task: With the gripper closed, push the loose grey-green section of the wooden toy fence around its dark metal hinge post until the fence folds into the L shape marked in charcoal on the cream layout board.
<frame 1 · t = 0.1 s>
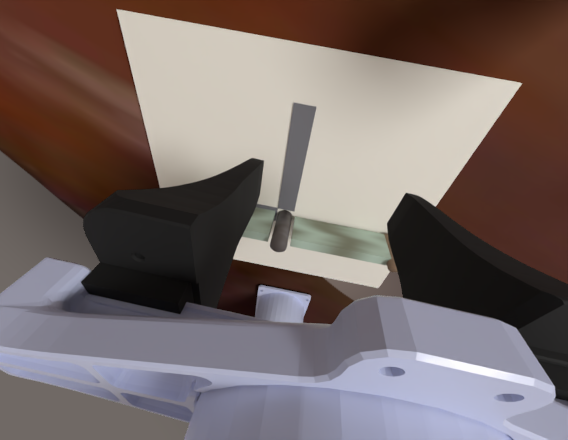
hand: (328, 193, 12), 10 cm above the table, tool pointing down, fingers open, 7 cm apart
fixed fence section: (285, 213, 25), resting on layout board
layout board: (289, 190, 24), on the table
hinged fence section: (344, 242, 23), point 3 cm above the table, hinge at 0.0°
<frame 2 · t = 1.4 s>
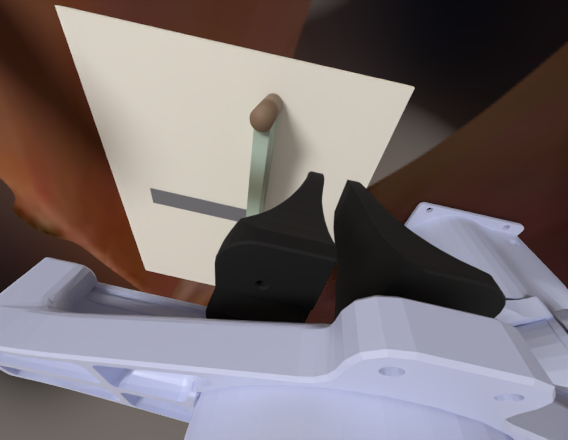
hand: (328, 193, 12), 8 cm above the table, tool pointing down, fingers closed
layout board: (231, 209, 24), on the table
hinged fence section: (260, 175, 18), point 3 cm above the table, hinge at 0.0°
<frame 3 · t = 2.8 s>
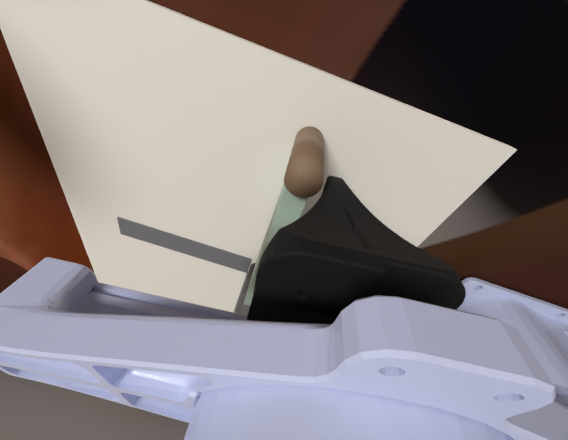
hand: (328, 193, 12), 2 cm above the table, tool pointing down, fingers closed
fixed fence section: (261, 264, 19), resting on layout board
layout board: (226, 253, 19), on the table
hinged fence section: (276, 234, 13), point 3 cm above the table, hinge at 0.6°, touching gripper
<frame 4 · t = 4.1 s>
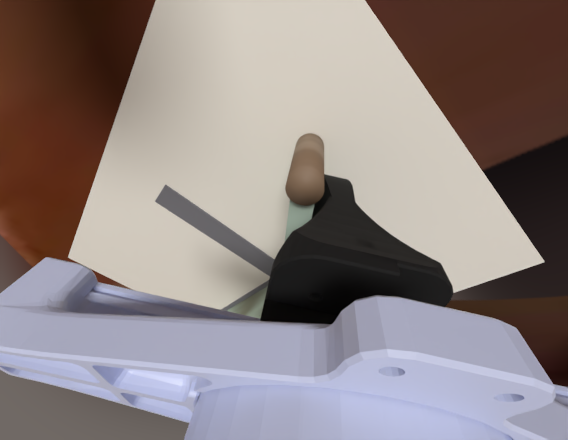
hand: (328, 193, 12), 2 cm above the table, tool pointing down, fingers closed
fixed fence section: (288, 273, 19), resting on layout board
layout board: (260, 254, 18), on the table
hinged fence section: (294, 242, 13), point 3 cm above the table, hinge at 36.5°, touching gripper
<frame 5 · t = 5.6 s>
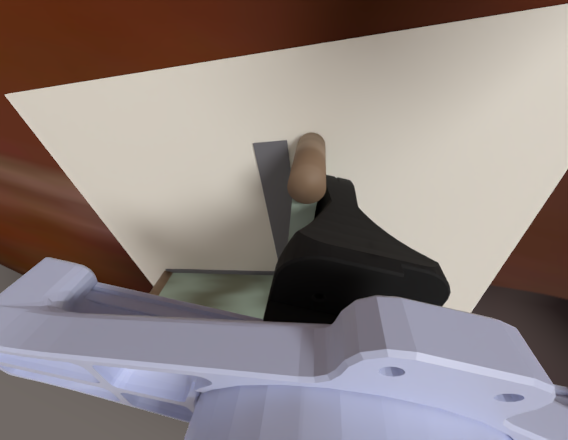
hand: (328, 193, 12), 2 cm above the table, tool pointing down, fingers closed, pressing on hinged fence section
fixed fence section: (293, 273, 19), resting on layout board
layout board: (289, 248, 17), on the table
hinged fence section: (298, 242, 13), point 3 cm above the table, hinge at 79.1°, touching gripper
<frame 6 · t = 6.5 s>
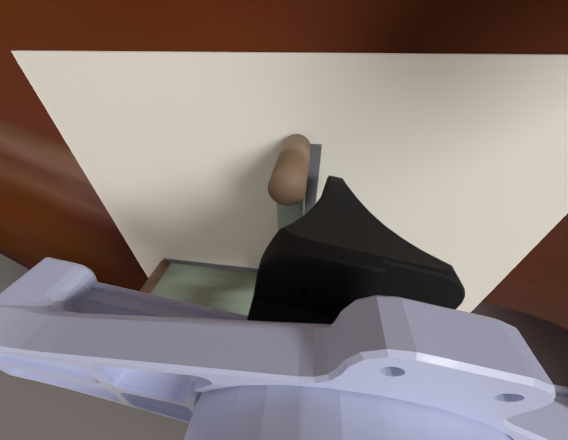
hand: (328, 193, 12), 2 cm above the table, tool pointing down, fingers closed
fixed fence section: (297, 274, 19), resting on layout board
layout board: (298, 249, 17), on the table
hinged fence section: (293, 243, 13), point 3 cm above the table, hinge at 91.7°, touching gripper
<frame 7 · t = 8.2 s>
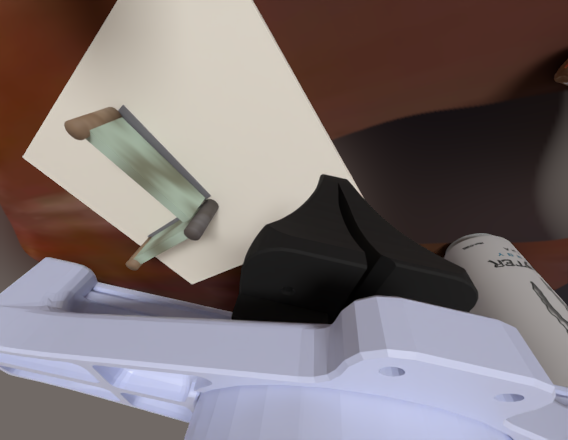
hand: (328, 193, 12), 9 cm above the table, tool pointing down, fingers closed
fixed fence section: (213, 202, 25), resting on layout board
layout board: (192, 181, 24), on the table
energy drink can: (470, 249, 25), on the table
hinged fence section: (146, 168, 20), point 3 cm above the table, hinge at 91.8°
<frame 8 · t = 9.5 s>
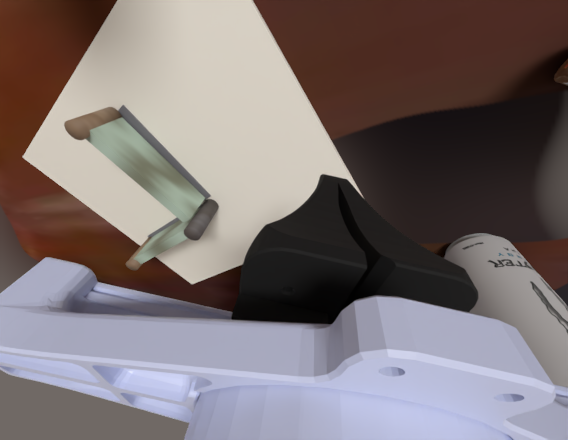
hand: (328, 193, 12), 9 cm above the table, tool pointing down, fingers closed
fixed fence section: (213, 202, 25), resting on layout board
layout board: (192, 181, 24), on the table
energy drink can: (470, 249, 25), on the table
hinged fence section: (146, 168, 20), point 3 cm above the table, hinge at 91.8°
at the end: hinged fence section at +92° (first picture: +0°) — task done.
